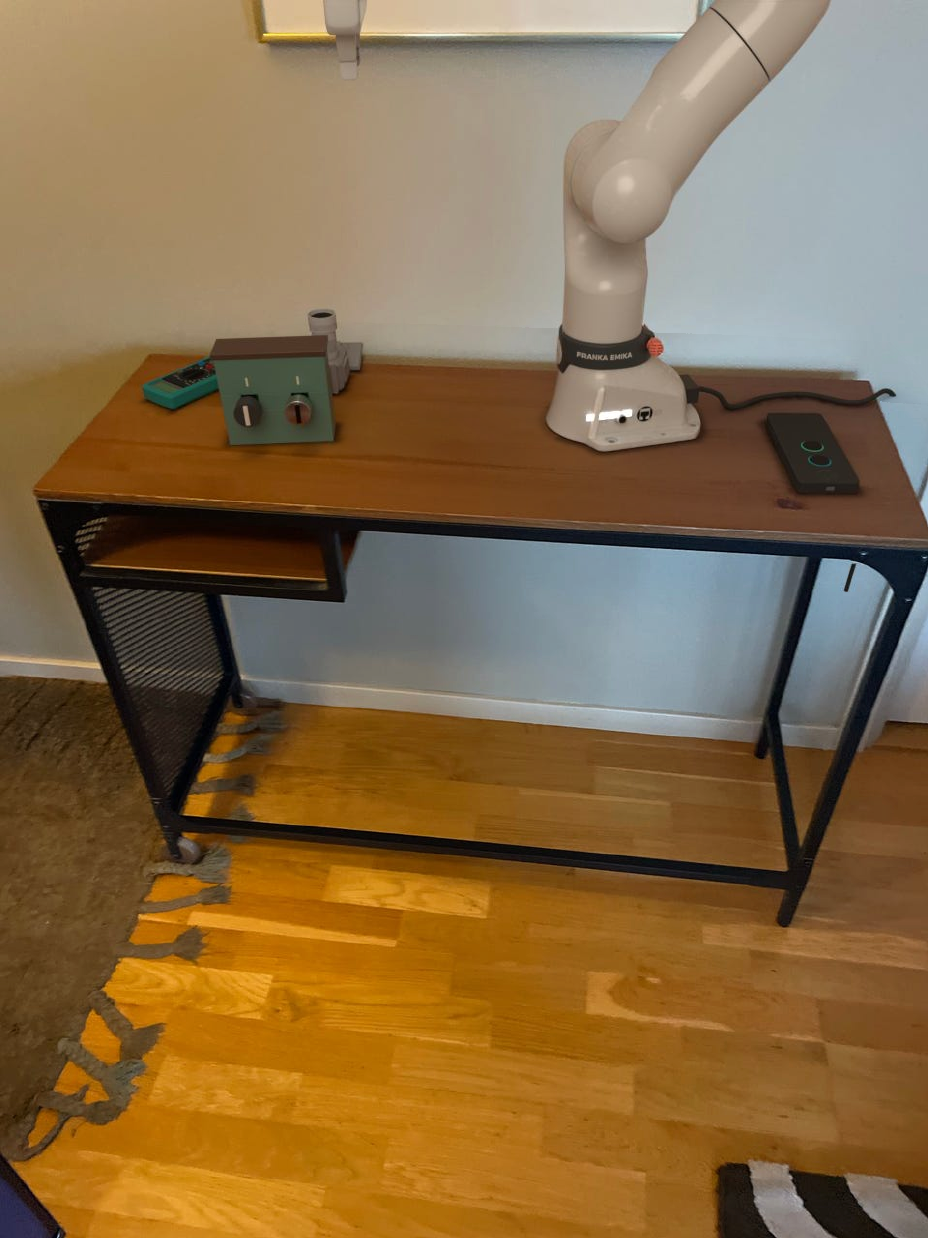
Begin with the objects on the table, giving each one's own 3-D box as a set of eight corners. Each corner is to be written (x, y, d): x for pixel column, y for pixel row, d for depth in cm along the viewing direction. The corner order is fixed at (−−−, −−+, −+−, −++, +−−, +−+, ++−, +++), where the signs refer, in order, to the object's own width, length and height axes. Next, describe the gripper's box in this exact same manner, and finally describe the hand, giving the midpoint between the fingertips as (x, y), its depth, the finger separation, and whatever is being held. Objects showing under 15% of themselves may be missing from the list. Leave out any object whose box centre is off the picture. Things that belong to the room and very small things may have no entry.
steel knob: (312, 425, 126) (309, 401, 124) (286, 426, 126) (282, 402, 124) (315, 407, 130) (312, 384, 128) (290, 408, 130) (286, 385, 128)
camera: (289, 321, 137) (305, 288, 149) (299, 394, 144) (313, 357, 156) (347, 320, 137) (358, 287, 149) (354, 394, 144) (364, 357, 156)
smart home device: (798, 482, 118) (764, 411, 134) (795, 493, 119) (762, 422, 135) (863, 482, 118) (822, 411, 133) (859, 494, 119) (819, 422, 134)
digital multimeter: (245, 379, 149) (242, 362, 147) (172, 412, 140) (168, 395, 138) (216, 368, 153) (212, 351, 151) (142, 400, 144) (138, 383, 142)
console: (335, 442, 132) (325, 350, 123) (227, 446, 132) (209, 354, 123) (338, 424, 136) (327, 334, 128) (233, 428, 136) (215, 338, 127)
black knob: (261, 427, 126) (257, 403, 124) (235, 428, 126) (231, 404, 123) (266, 409, 130) (262, 385, 128) (241, 410, 130) (236, 386, 128)
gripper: (367, -77, 88) (377, 87, 96) (372, -84, 104) (380, 57, 112) (301, -76, 87) (317, 88, 96) (316, -83, 103) (329, 58, 112)
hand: (351, 71), depth 104 cm, fingers open, 8 cm apart
